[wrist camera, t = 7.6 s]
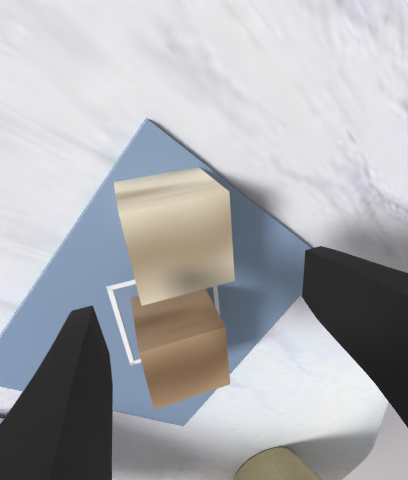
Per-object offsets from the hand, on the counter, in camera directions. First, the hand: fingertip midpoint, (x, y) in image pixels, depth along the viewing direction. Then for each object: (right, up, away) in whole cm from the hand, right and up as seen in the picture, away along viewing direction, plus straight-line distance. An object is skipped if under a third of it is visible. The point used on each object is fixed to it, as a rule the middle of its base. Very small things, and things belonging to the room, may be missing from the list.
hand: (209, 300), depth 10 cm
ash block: (-2, +3, +7) cm, 8 cm away
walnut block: (-2, -3, +10) cm, 11 cm away
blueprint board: (-3, -3, +11) cm, 11 cm away
